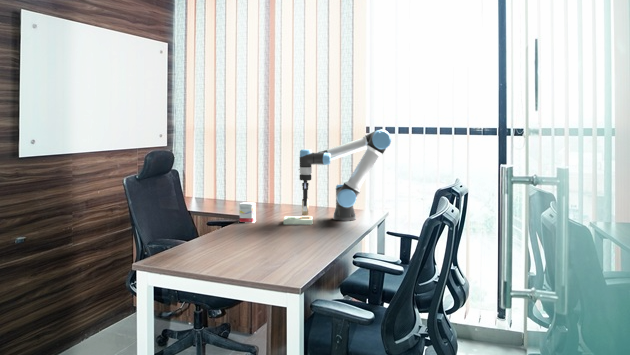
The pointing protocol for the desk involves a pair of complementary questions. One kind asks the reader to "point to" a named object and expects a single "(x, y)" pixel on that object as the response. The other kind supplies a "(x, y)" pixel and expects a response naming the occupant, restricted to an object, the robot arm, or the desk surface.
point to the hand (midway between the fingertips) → (305, 210)
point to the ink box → (247, 212)
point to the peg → (305, 211)
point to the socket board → (298, 220)
